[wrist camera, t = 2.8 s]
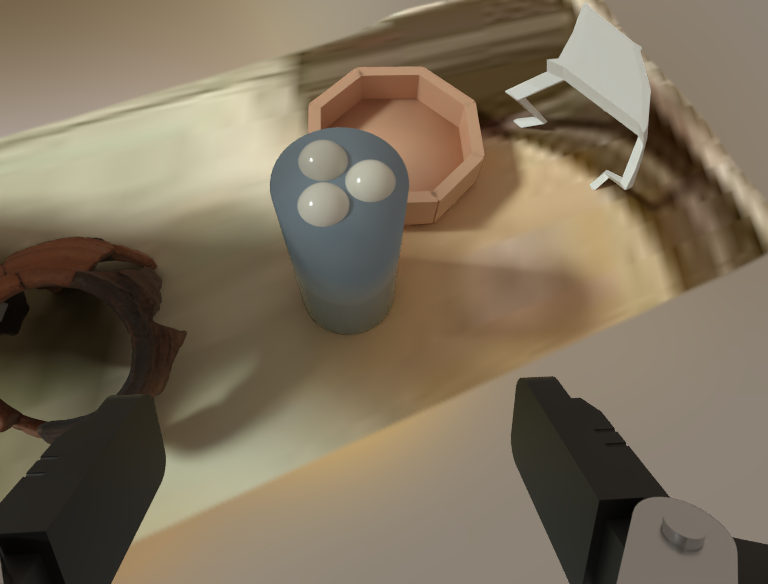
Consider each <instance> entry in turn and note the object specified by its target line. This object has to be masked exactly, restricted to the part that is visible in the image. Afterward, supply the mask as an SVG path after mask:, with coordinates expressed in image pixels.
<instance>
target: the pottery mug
mask: <svg viewBox="0 0 768 584" xmlns="http://www.w3.org/2000/svg"><path fill="white" fill-rule="evenodd" d="M114 260H115V261H123V262H129V263H134V264H138V265H141V266H143V267H144V268H141V269H137V270H132V269H121V270H116V271H94V272H93V270H94V268H95V266H96V265H97V264H98V263H100V262H105V261H114ZM156 267H157V265H156V263H155V262H154V260H153V259H152V258H150V257H149V256H147V255H146V254H144V253H142V252H140V251H137V250H134V249H130V248H127V247H124V246H121V245H114V244H110V243H109V242H106V241H105V240H103V239H101V238H89V237H88V238H84V237H68V238H61V239H57V240H53V241H48V242H44V243H40V244H37V245H35V246H32V247H29V248H26V249H23V250H21V251H18V252H16V253H14V254H12V255H10V256H9V257H8V258H7V259H6V260H5V261H4V263H3V264H0V336H1V335H9V336H14V335H16V334H18V332H19V330H20V328H21V324H22V322H23V319H24V318H25V316H26V315H27V313H28V311H29V306H28V304H27V301H26V297H25V294H24V291H25V290H28V289H33V288H36V289H46V290H48V291H51V292H53V293H58V292H60V290H61V289H62V288H63V287H67V288H77V289H80V290H83V291H85V292H87V293H90V294H92V295H94V296H96V297H97V298H99V299H101V300H102V301H104V302H105V303H106V304H107V305H109V306H110V307H111V308H112V309H113V310H114V312H115V313H116V314H117V315H118V316H119V317H120V319H121V320H122V321H123V323H124V325H125V327H126V328H127V331H128V333H129V334H130V335H131V342H132V350H133V352H132V364H131V369H130V373H129V376H128V378H127V380H126V382H125V384H124V385H123V387H122V389H121V390H120V391H119V392H118V393H117V395H134V394H149V395H150V396H151V397H152V399H153V397H154V396H156V395H158V394H160V393H161V392H162V391H163V390H164V388H165V386H166V383H167V381H168V378H169V374H170V371H171V368H172V364H173V362H174V359H175V357H176V355H177V353H178V350H179V348H180V347H181V346H182V344H183V342H184V340H185V337H186V335H187V332H186V331H179V330H176V329H173V328H170V327H166V326H163V325H160V324H158V323H156V322H154V321H153V317H154V315H155V314H156V313H157V312H158V311H159V309H160V304H161V293H160V289H161V286H162V279H161V278H160V277H159V276H158V275H157V274H156V273H155V271H154V269H155V268H156ZM153 401H154V399H153ZM95 412H96V411H95ZM95 412H93V413H90V414H88V415H85V416H81V417H77V418H73V419H68V420H59V421H50V422H46V421H42V420H38V419H34V418H30V417H28V416H25V415H23V414H21V413H20V412H19V411H17V410H16V409H14V408H12V407H11V406H9V405H8V404H6V403H5V402H4V401H3V400H1V399H0V432H4V431H6V430H8V429H9V428H11V427H13V428H15V429H18V430H22V431H23V432H25V433H27V434H29V435H32V436H35V437H38V438H42V439H44V441H46V442H47V443H49V444H52V443H53V442H54V441H55V440H56V438H57V437H59V436H60V435H62V434H63V433H65V432H66V431H68V430H69V429H71V428H72V427H73V426H75V425H76V424H78V423H79V422H81V421H87V420H89V419H90V418H91V417H92V415H93V414H94V413H95Z"/></svg>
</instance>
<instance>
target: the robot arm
mask: <svg viewBox="0 0 768 584" xmlns="http://www.w3.org/2000/svg"><path fill="white" fill-rule="evenodd" d="M513 413H514V414H513V423H512V432H511V445H512V453H513V457H514V461H515V463H516V466H517V468H518V470H519V472H520V475H521V477H522V479H523V481H524V484H525V486H526V487H527V490H528V492H529V494H530V497H531V499H532V501H533V503H534V506H535V508H536V510H537V512H538V514H539V516H540V519H541V521H542V523H543V526H544V528H545V530H546V532H547V534H548V536H549V539H550V541H551V543H552V545H553V548H554V550H555V552H556V554H557V557H558V559H559V561H560V563H561V565H562V568H563V570H564V572H565V574H566V577H567V579H568V581H569V583H570V584H768V545H767V544H762V543H757V542H752V541H747V540H741V539H738V538H734V537H732V536H731V535H730V533H729V532H728V531H727V530H726V528H725V527H724V526H723V525H722V524H721V523H720V522H719V521H717V520H716V519H715V518H714V517H712V516H711V515H710V514H708V513H706V512H705V511H704V510H702V509H700V508H698V507H696V506H694V505H692V504H689V503H687V502H684V501H681V500H677V499H673V498H670V497H669V496H668V494H666V492H665V491H664V489H663V488H662V487H661V486H660V484H659V483H658V482H657V481H656V479H655V478H654V477H653V476H652V474H651V473H650V472H649V471H648V470H647V468H646V467H645V466H644V465H643V463H642V462H641V461H640V459H639V458H638V457H637V456H636V454H635V453H634V452H633V451H632V449H631V448H630V447H629V446H626V442H625V441H624V440H623V438H622V437H621V436H620V435H619V434H618V432H615V429H614V427H613V426H612V425H611V423H610V422H609V421H608V420H607V419H606V417H605V416H604V415H603V413H602V412H601V411H599V410H598V409H596V408H595V407H593V406H592V405H590V404H589V403H587V402H586V401H584V400H583V399H581V398H571V397H570V396H569V395H568V394H567V392H566V391H565V389H564V388H563V387H562V385H561V384H560V383H559V381H558V380H557V379H556V378H555V377H553V376H552V377H531V378H530V377H529V378H520V379H519V380H518V382H517V385H516V393H515V403H514V412H513ZM165 465H166V454H165V448H164V444H163V440H162V435H161V431H160V426H159V422H158V417H157V413H156V409H155V404H154V401H153V399H152V397H151V396H150V395H149V394H134V395H112V396H109V397H108V398H107V399H106V400H105V401H104V402H103V403H102V405H101V406H100V407H99V408H98V409H97V411H96V412H95V413H94V414H93V415H92V417H91V418H90V419H89V420H87V421H81V422H79V423H78V424H76V425H75V426H73V427H72V428H71V429H69V430H68V431H66V432H65V433H63V434H62V435H60V436H59V437H57V438H56V440H55V441H54V442H53V443H52V444H51V445H50V446H49V448H48V449H47V450H46V451H45V452H44V453H43V454H42V456H41V459H40V460H39V461H36V463H35V464H34V465H33V466H32V467H31V468H30V469H29V471H28V472H27V473H26V474H27V475H26V477H22V479H21V480H20V481H19V482H18V483H17V484H16V485H15V487H14V488H13V489H12V490H11V491H10V492H9V493H8V495H7V496H6V497H5V498H4V499H3V500H2V501H1V503H0V584H111V583H112V580H113V579H114V577H115V575H116V573H117V570H118V569H119V567H120V564H121V562H122V560H123V559H124V556H125V555H126V552H127V551H128V549H129V546H130V544H131V542H132V540H133V538H134V536H135V534H136V532H137V530H138V528H139V526H140V524H141V522H142V520H143V518H144V516H145V514H146V512H147V510H148V508H149V506H150V504H151V502H152V500H153V498H154V496H155V494H156V492H157V490H158V488H159V486H160V484H161V482H162V479H163V476H164V472H165Z"/></svg>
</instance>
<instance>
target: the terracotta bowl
mask: <svg viewBox="0 0 768 584" xmlns="http://www.w3.org/2000/svg"><path fill="white" fill-rule="evenodd" d="M335 127H346V128H354V129H359V130H363V131H366V132H369V133H372V134H374V135H376V136H378V137H380V138H381V139H383V140H384V141H386V142H387V143H388V144H390V145H391V146H392V147H393V148H394V149H395V150H396V151H397V152H398V154H399V155H400V157H401V158H402V160H403V162H404V164H405V166H406V169H407V172H408V176H409V192H408V199H407V207H406V214H405V221H404V226H412V225H416V224H425V223H433V222H436V221H437V220H438V219H439V218H440V217H441V216H442V215H443V214H444V213H445V212H446V211H448V210H449V209H450V208H451V207H452V206H453V205H455V204H456V202H457V201H458V200H459V199H460V198H461V196H462V195H463V194H464V193H465V192H466V191H467V190H468V189H469V188H470V187H471V186H472V185H473V184H474V183H475V182H476V180H477V177H478V174H479V171H480V168H481V166H482V163H483V160H484V157H485V154H484V149H483V143H482V137H481V131H480V125H479V119H478V113H477V108H476V103H474V100H472V99H471V98H469V97H468V96H466V95H465V94H463V93H462V92H460V91H459V90H457V89H456V88H454V87H453V86H451V85H450V84H448V83H447V82H445V81H444V80H442V79H441V78H439V77H438V76H436V75H435V74H433V73H432V72H430V71H429V70H427V69H426V68H424V67H423V68H422V67H358V69H357V68H355V69H354V70H352V71H351V72H350V73H349V74H347V75H346V76H345V77H343V78H342V79H341V80H339V81H338V82H337V83H336V84H334V85H333V86H332V87H330V88H329V89H328V90H326V91H325V92H324V93H323V94H321V95H320V96H319V97H317V98H316V99H315V100H313V101H312V102H311V103H310V105H309V121H308V134H309V133H311V132H314V131H318V130H321V129H326V128H335Z"/></svg>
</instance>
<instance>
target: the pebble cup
mask: <svg viewBox="0 0 768 584" xmlns="http://www.w3.org/2000/svg"><path fill="white" fill-rule="evenodd" d="M270 192H271V197H272V201H273V204H274V207H275V211H276V214H277V217H278V220H279V223H280V227H281V230H282V233H283V236H284V239H285V243H286V246H287V249H288V252H289V256H290V259H291V262H292V265H293V268H294V272H295V275H296V278H297V281H298V284H299V288H300V291H301V294H302V297H303V300H304V304H305V306H306V309H307V311H308V313H309V315H310V316H311V317H312V319H313V320H314V321H315V322H316V323H317V324H319V325H320V326H321V327H323V328H324V329H326V330H328V331H331V332H334V333H337V334H344V335H351V334H358V333H363V332H365V331H368V330H370V329H372V328H374V327H375V326H376V325H378V324H379V323H380V322H381V321H382V320H383V319H384V318H385V317H386V316H387V314H388V312H389V311H390V308H391V306H392V303H393V299H394V292H395V284H396V277H397V270H398V263H399V256H400V249H401V242H402V235H403V228H404V221H405V214H406V207H407V199H408V192H409V176H408V172H407V169H406V166H405V164H404V162H403V160H402V158H401V157H400V155H399V154H398V152H397V151H396V150H395V149H394V148H393V147H392V146H391V145H390V144H388V143H387V142H386V141H384V140H383V139H381V138H380V137H378V136H376V135H374V134H372V133H369V132H366V131H363V130H359V129H354V128H346V127H335V128H326V129H321V130H318V131H314V132H311V133H309V134H306V135H304V136H303V137H301V138H299V139H297V140H296V141H294V142H293V143H292V144H290V145H289V146H288V147H287V148H286V149H285V150H284V151H283V152H282V154H281V155H280V156H279V158H278V159H277V161H276V163H275V165H274V167H273V170H272V174H271V179H270Z"/></svg>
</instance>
